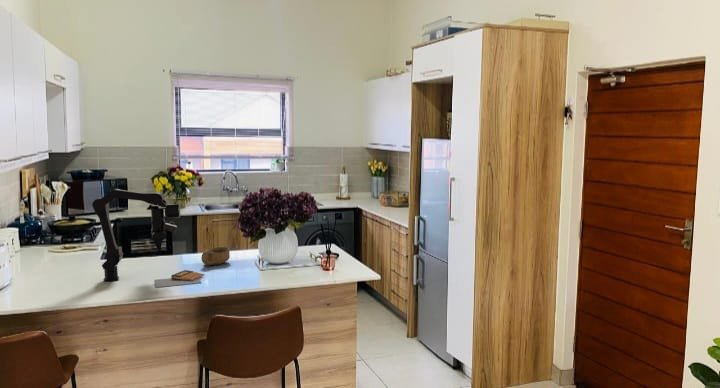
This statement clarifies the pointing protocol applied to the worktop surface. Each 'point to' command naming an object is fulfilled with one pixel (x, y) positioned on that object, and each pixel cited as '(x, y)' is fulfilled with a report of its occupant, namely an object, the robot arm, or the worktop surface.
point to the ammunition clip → (186, 275)
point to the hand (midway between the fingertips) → (159, 250)
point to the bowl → (216, 255)
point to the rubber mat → (174, 282)
